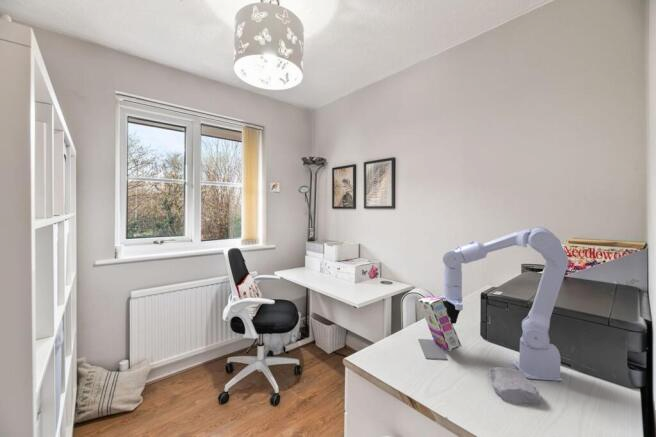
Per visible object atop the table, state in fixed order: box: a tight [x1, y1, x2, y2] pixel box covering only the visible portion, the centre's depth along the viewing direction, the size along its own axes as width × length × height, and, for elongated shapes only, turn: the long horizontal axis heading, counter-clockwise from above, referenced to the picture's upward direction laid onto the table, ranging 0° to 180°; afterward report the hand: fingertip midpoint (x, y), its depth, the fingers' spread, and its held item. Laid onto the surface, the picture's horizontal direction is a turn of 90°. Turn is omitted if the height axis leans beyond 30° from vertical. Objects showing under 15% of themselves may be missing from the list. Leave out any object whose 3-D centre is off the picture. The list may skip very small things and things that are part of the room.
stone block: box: [488, 366, 540, 406], centre depth 76 cm, size 12×5×10 cm
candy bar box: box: [418, 295, 462, 352], centre depth 98 cm, size 11×5×16 cm, turn 4°
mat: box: [417, 338, 449, 361], centre depth 98 cm, size 7×13×1 cm, turn 172°
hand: (452, 322), depth 96 cm, fingers closed
